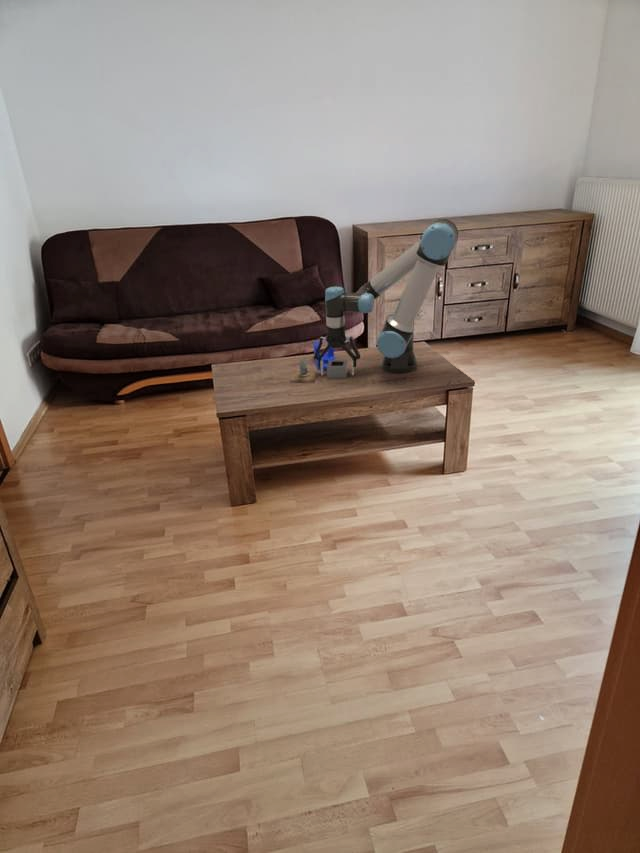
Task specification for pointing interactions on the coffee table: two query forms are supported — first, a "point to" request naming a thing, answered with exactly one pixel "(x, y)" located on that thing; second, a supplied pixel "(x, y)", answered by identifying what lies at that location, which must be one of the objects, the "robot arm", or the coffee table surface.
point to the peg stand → (303, 374)
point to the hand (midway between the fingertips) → (337, 374)
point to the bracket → (326, 357)
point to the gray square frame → (337, 369)
